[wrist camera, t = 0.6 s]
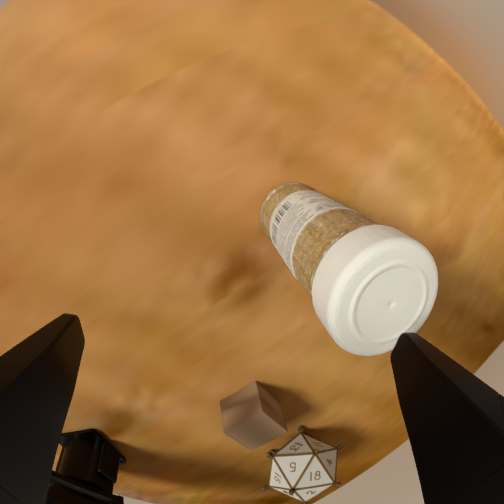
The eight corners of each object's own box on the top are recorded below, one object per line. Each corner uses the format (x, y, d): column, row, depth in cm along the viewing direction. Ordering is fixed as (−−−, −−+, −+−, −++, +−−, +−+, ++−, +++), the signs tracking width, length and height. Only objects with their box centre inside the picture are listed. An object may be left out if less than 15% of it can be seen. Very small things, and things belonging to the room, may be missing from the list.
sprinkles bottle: (296, 255, 24) (385, 375, 11) (245, 221, 22) (300, 331, 10) (333, 204, 23) (460, 282, 10) (284, 166, 21) (393, 211, 9)
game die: (299, 409, 34) (373, 435, 27) (291, 464, 34) (357, 494, 27) (241, 431, 29) (321, 474, 21) (237, 490, 28) (306, 534, 21)
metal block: (245, 420, 29) (250, 450, 25) (220, 400, 28) (223, 432, 24) (278, 401, 29) (288, 431, 25) (255, 380, 27) (262, 411, 24)
